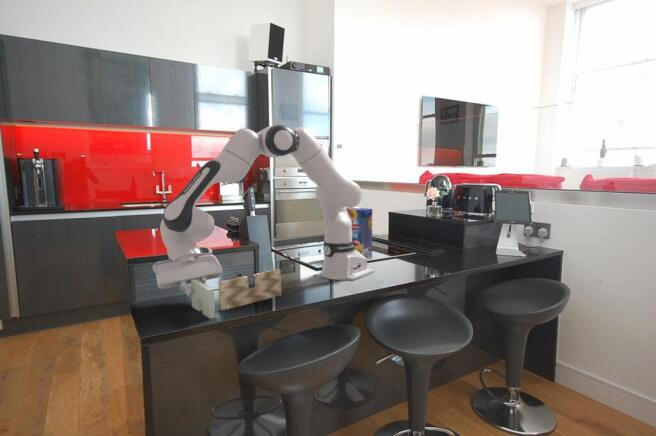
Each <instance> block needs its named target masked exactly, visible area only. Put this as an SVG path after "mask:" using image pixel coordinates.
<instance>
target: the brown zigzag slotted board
mask: <svg viewBox="0 0 656 436" xmlns="http://www.w3.org/2000/svg"><path fill="white" fill-rule="evenodd" d="M270 270H271V269H270ZM281 272H282V270H281V269H280V268H277V269H273V270H271V271H267V272H262V273H257V274H254V277H255V278H254V287H249V279H248V277H247V276H243V277H242V276H240V277H235V278H230V279H226V280H221V281H218V294H219V310H220V309H221V310H220V311H222V310H224V311H226V310H225V309H227V310H230V308H231V309H234V308H238V307H242V306H245V305H249V304H252V303H257V302H260V301H264V300H268V299H272V298H275V297H279V296H282V273H281Z"/></svg>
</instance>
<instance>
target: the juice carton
mask: <svg viewBox="0 0 656 436" xmlns="http://www.w3.org/2000/svg"><path fill="white" fill-rule="evenodd" d="M346 210H347V214H348V216H349V218H350V220H351V222H352V241H353V242H354V241H359V242H360V245H359V246H355V250H357V251H358V252H359V253H360V254H362V255H363V256H364V257H365V258H366V260H367V259H368V260H372V259H373V208H367V207H357V206H355V207H352V208H346ZM368 260H367V261H368Z"/></svg>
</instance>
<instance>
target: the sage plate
mask: <svg viewBox="0 0 656 436" xmlns="http://www.w3.org/2000/svg"><path fill="white" fill-rule="evenodd" d="M190 288H192V291H193V295H190V297H191V299H190V300H191V307H192V308H193V309H194V310H196V311H197V310H198V311H199V312H202V315H203V314H204V315H205V316H207V317H208V318H214V317H215V318H216V309H215V306H216V305H215V293H214V292H215V291H214V290H215V289H214V288H213V287H211V286H208V285H207V284H206V285H205V284H204V283H202V282H200V281H198V280H196V279H192V280H190ZM201 310H202V311H201ZM198 311H197V312H198ZM204 315H203V316H204ZM205 316H204V317H205ZM207 317H206V318H207ZM208 318H207V319H208Z"/></svg>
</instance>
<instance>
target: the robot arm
mask: <svg viewBox="0 0 656 436" xmlns="http://www.w3.org/2000/svg"><path fill="white" fill-rule="evenodd" d="M288 155H291V156H292V157H293V158H294V160H295V161H296V162H297V164H298V165H299V167H300V168H301V169H302V171H303V172H304V173H305V175H306V176H307V177H308V179H310V181H312V182H313V183H314V184H316V188H315V196H316V199H317V200H318V201H319V204H320V209H321V212H322V217H323V224H324V225H323V226H324V228H323V229H324V241H323V254H324V255H323V264H322V270H321V273H320V276H321V277H322V278H324V279H329V280H338V281H339V280H346V281H348V280H350V281H355V280H357V279H359V278H363V277H365V276H367V275H369V274H372V273H373V272H374V269H372V268H371V267H370V266H368V260H366V258H365V257H364V256H363V255H362V254H360V253H359V252H358V251H357V250H355V246H359V245H360V242H359V241H354V242H353V241H352V222H351V220H350V218H349V216H348V214H347V210H346V208H352V207H357V206H358V205H359V204H360V203H361V201H362V198H363V191H362V188H361V186H360V185H359V184H358V183H356V182H355V181H353V180H352V179H351V178H350V177H349V176H348V175H347V174H346V173H344V171H343V170H342V169H340V168H339V167H338V165H336V163H334V161H333V160H332V158H331V157H330V155H328V153H327V152H326V150H325V149H324V147H323V146H322V144H321V143H320V142H319V140H318V139H317V138H316V136H314V135H313V134H312V133H311V132H310V131H309V130H308V129H307V128H306V127H303V126H302V127H301V126H300V127H295V128H293V129H292V128H290V127H288V126H286V125H283V124H275V125H269V126H266V127H265V128H262V129H260V130H259V131H257V132H255V131H254V130H252V129H250V128H243V127H242V128H239V129H238V130H237V131H236V132H234V134H233V135H232V136H231V137H230V138H229V140H228V141H227V142H226V144H225V145H224V147H223V148H222V150H221V151H220V153H219V154H218V155H217V156H216V157H215V158H214V159H213V160H209V161H207V162H206V163H204V164H203V166H201V167H200V168H199V169H198V171H197V172H196V173H195V175H194V176H193V177H192V178H191V179H190V180H189V181H188V182H187V184H186V185H185V187H184V188H183V189H181V191H180V192H179V194H178V195H177V196H176V197H174V198H173V199H172V200H171V201H170V202H169V203H168V204H167V205H166V206H165V208H164V210H163V213H162V220H161V221H160V226H159V227H160V229H159V231H160V235H161V239H162V242H163V245H164V247H165V248H166V252H167V256H168V259H165V260H159V261H156V262H155V263H154V264H152V270H153V273H154V274H155V276H156V283H157V287H158V288H159V289H161V290H165V289H169V288H175V287H180V290H182V291H184V293H186V296H187V297H191V295H193V291H192V288H191V287H190V288H189V287H188V286H187V285H191V283H190V280H192V279H196V280H198V281H200V282H202V283H204V284H205V285H207V281H208V280H212V279H213V280H214V279H218V278H220V276H221V275H222V272H223V268H222V265H221V264H220V261H219V260H218V258H217V257H216V255H214V254H213V249H212V248H211V247H206V246H198V245H195V244H196V243H197V244H198V243H199V242H201V241H203V240H205V239H207V238H208V237H209V236H211V234H212V233H213V231H215V230H214V229H215V224H216V223H215V218H214V216H212V215H211V214H210V213H209V212H206V211H205V210H203V209H201V208H198V207H196V206H197V204H198V202H199V201H200V199H201V198H202V197H203V196H204V195H205V194H206V192H207V191H208V190H209V188H211V186H213V185H214V184H218V183H226V184H230V183H231V184H232V183H238V182H240V181H242V180H243V179H244V178H245V177H246V175H247V174H248V172H249V171H250V169H251V167H252V165H253V164H254V161H255V160H256V159H257V158H258V157H259V156H261V157H264V158H279V157H284V156H288Z"/></svg>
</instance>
